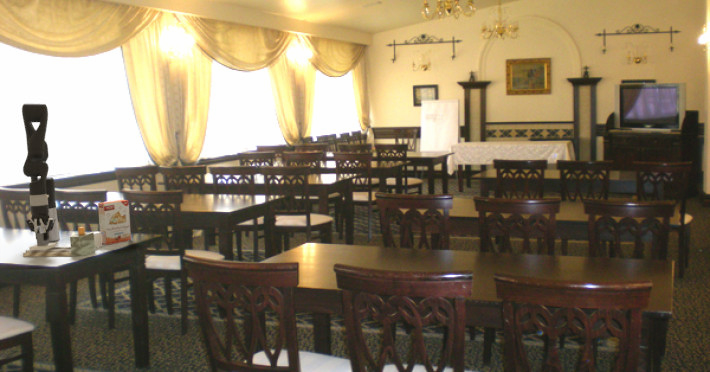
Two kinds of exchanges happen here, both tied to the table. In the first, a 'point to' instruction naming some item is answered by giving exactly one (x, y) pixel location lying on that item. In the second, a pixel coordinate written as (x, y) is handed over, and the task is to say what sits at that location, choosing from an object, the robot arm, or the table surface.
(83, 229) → the button
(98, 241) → the white cube
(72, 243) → the rail track
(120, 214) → the cracker box
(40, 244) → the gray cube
